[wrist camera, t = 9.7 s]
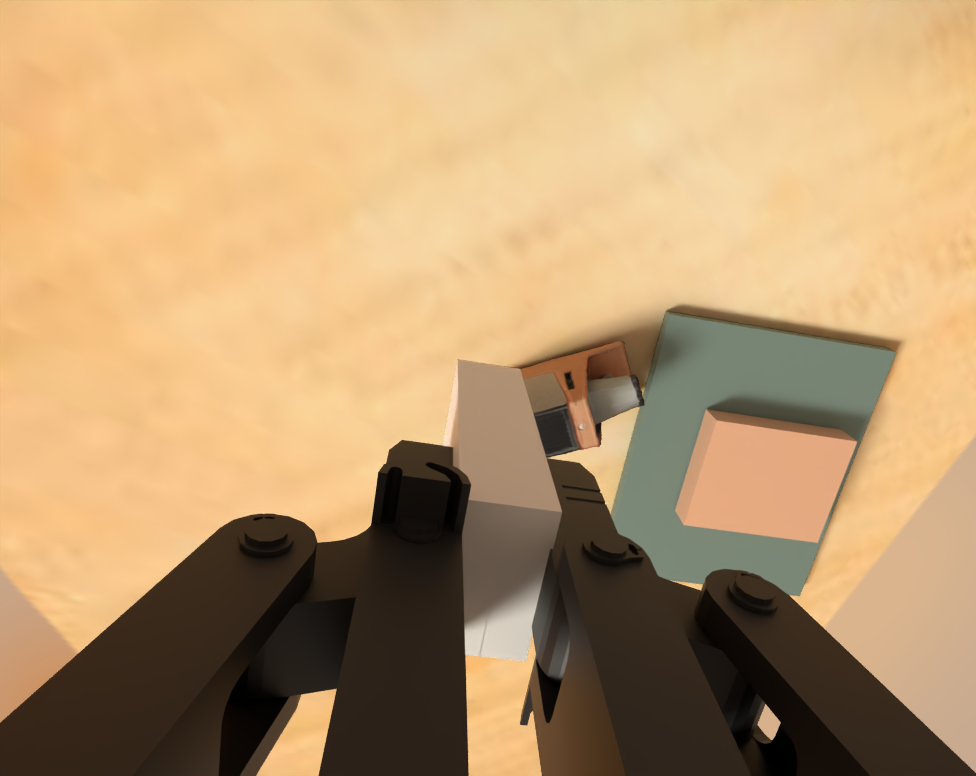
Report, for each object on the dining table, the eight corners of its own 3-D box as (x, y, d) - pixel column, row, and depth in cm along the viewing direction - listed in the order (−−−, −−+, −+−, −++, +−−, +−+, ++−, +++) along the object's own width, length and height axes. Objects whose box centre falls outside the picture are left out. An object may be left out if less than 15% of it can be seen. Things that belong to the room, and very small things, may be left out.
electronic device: (634, 393, 47) (665, 438, 40) (502, 433, 48) (509, 484, 41) (619, 335, 45) (648, 370, 38) (483, 377, 46) (487, 420, 39)
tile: (716, 420, 44) (857, 441, 45) (705, 408, 46) (840, 428, 47) (683, 525, 47) (817, 542, 48) (674, 509, 49) (802, 526, 50)
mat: (665, 310, 45) (670, 314, 44) (887, 348, 47) (896, 352, 46) (597, 563, 52) (600, 571, 51) (793, 588, 53) (799, 596, 52)
